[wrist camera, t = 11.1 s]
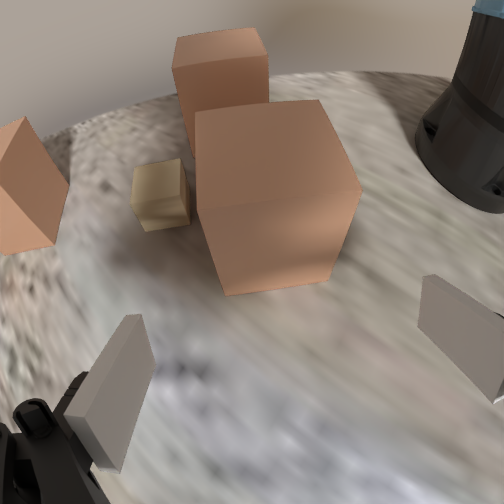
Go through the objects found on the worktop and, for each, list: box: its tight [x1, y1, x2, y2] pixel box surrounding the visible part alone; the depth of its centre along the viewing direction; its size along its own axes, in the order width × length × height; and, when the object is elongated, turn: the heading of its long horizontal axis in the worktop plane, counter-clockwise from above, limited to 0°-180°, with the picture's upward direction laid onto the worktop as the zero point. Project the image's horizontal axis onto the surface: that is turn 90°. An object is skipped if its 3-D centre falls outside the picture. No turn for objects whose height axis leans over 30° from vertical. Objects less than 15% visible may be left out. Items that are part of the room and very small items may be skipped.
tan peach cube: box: [0, 116, 69, 256], centre depth 23 cm, size 8×8×10 cm
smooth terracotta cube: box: [195, 100, 363, 296], centre depth 20 cm, size 8×8×10 cm
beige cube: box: [130, 158, 191, 232], centre depth 25 cm, size 4×4×4 cm
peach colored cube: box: [172, 27, 269, 158], centre depth 27 cm, size 8×8×10 cm
